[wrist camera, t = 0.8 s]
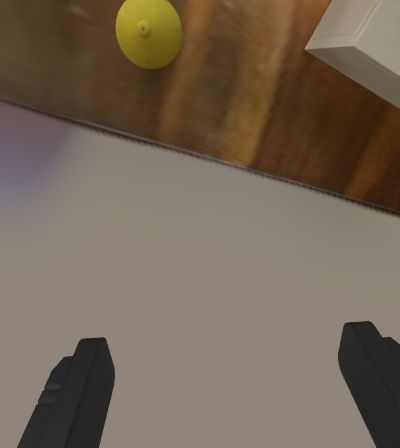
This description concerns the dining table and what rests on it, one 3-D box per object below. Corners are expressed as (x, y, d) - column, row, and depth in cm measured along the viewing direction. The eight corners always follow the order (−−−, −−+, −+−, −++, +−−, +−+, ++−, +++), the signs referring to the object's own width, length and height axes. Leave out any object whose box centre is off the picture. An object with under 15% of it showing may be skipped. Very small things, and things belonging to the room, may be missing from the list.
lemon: (195, 36, 30) (195, 29, 23) (157, 80, 32) (146, 86, 25) (152, -15, 29) (138, -39, 21) (114, 35, 30) (90, 28, 23)
